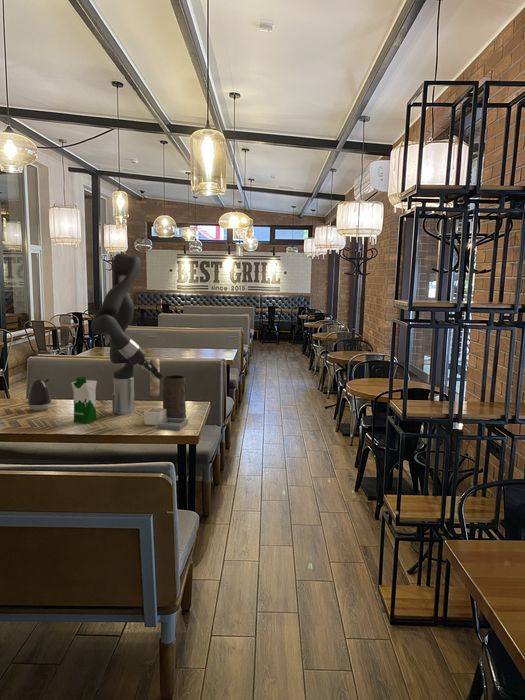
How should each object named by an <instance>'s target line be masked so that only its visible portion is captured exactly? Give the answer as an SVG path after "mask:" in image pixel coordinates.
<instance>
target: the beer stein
mask: <svg viewBox="0 0 525 700" xmlns="http://www.w3.org/2000/svg"><path fill="white" fill-rule="evenodd" d="M162 381H163V390H162V409H166V418H178V419H187V414H186V412H187V409H186V408H187V407H186V396H187V382H186V377H185V376H184V375H179V374H177V375H176V374H174V375H166V376H163V379H162Z"/></svg>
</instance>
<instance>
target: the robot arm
mask: <svg viewBox="0 0 525 700" xmlns="http://www.w3.org/2000/svg"><path fill="white" fill-rule="evenodd" d="M141 267H142V261H141V258H140V257H138V256H137V255H131V254H127V253H126V254H125V253H120V252H119V253H116V254H115V255H114V258H113V261H112V276H113V277H112V278H113V281H112V282H113V287H111V289H109V291H107V293H106V295H105V297H104V298H103V301H102V304H101V307H100V308H98V309H99V310H97V312H96V314H95V315H94V317H93V318H92V321H91V324H90V329H91V331H92V332H93V333H94V334H96V335H105V334H108V335H109V343H110V345H109V361H110V363H112V364H118V365H119V364H124V366H122V367H120V368H119V369H117V370H115V371H114V372H113V393H112V394H111V397H112V398H111V400H112V403H111V405H112V406H111V407H112V414H115V415H118V416H124V415H129V414H130V415H131V414H133V413H134V412H135V365H137V364H138V366H140V368H142V369H143V370H145V371H147V373H150V372H151V373H152V374H153V375H155V376H156V377H157V378H158V379H159V381H161V379H162V378H164V376H163V375H162V374H161V373H160V371H159V372H158V369H156V368H155V366H154V365H153V364H152V363H151V362H150V359H148V358H146V351H145V350H144V349H143V348H142V347H141V346H140V345H139V344H138V343H137V342H135V340H133V339H132V338H130V336H128V335H127V334H126V333H125V331H127V329H128V328H129V326H130V325H131V323H132V322H133V319H134V311H135V309H134V306H135V305H134V302H133V299H132V297H131V296H130V293H129V291H130V289H131V287H132V286H133V285H134V282H135V281H136V279H137V278H138V277H139V273H140V272H141ZM124 276H125V277H124ZM154 369H155V370H154ZM153 370H154V371H153Z"/></svg>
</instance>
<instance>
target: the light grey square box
mask: <svg viewBox="0 0 525 700" xmlns="http://www.w3.org/2000/svg"><path fill="white" fill-rule="evenodd" d="M143 412H144V414H143V415H144V425H149V426H151V425H152V426H158V423H160V422H161V421H163V420H164V419H166V409H163V408H161V407H160V408H159V407H157V408H156V407H150V408H148V409H147V410H145V411H143Z"/></svg>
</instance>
